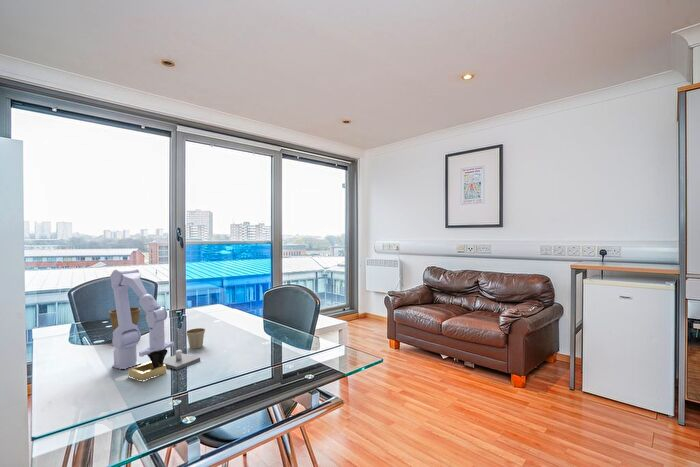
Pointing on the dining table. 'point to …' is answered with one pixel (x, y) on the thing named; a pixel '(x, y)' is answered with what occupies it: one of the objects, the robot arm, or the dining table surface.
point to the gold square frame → (146, 371)
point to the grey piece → (180, 360)
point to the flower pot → (195, 337)
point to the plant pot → (133, 315)
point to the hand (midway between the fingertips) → (157, 367)
